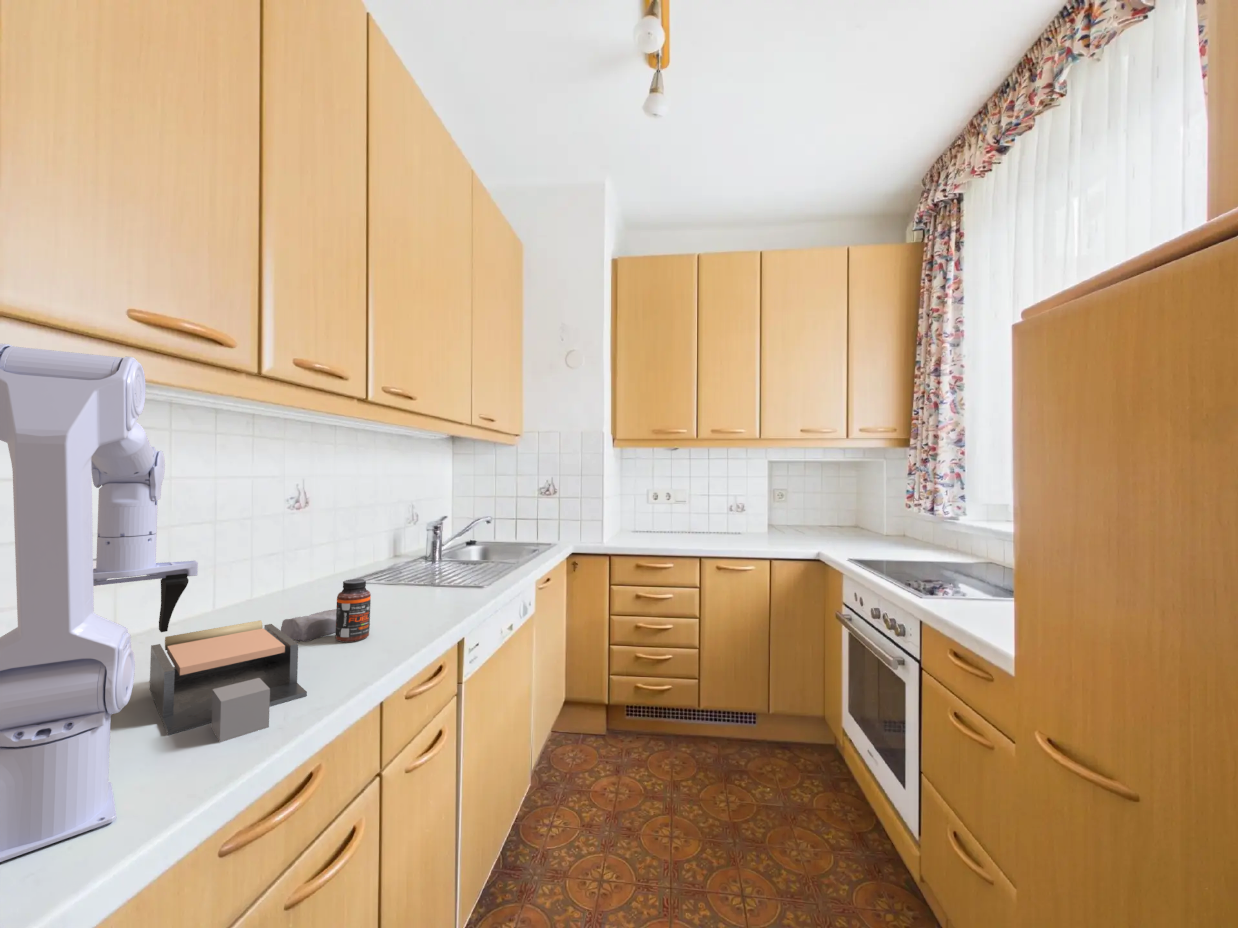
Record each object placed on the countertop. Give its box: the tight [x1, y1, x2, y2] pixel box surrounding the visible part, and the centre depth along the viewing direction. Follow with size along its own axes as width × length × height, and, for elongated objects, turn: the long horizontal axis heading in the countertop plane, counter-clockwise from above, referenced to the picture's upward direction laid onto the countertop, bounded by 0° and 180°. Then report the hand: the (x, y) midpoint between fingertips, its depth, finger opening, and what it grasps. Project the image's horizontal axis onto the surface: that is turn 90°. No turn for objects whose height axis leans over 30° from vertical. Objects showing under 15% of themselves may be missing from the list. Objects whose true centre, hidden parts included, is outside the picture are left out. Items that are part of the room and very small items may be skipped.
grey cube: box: [210, 678, 270, 743], centre depth 64 cm, size 5×5×5 cm
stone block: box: [280, 608, 337, 642], centre depth 103 cm, size 12×5×10 cm
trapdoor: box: [164, 620, 285, 675], centre depth 76 cm, size 12×15×2 cm
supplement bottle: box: [335, 578, 372, 643], centre depth 99 cm, size 6×6×11 cm
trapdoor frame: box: [149, 623, 308, 736], centre depth 74 cm, size 15×19×6 cm
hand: (124, 636), depth 67 cm, fingers open, 7 cm apart
